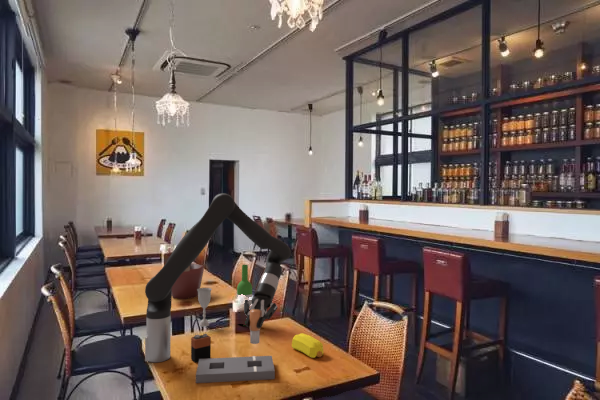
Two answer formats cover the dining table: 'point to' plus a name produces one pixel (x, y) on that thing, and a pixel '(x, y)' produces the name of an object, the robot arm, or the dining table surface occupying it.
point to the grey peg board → (235, 369)
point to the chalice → (204, 303)
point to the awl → (254, 326)
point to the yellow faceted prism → (307, 345)
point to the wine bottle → (244, 283)
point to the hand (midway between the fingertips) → (252, 326)
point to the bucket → (188, 282)
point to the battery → (200, 347)
